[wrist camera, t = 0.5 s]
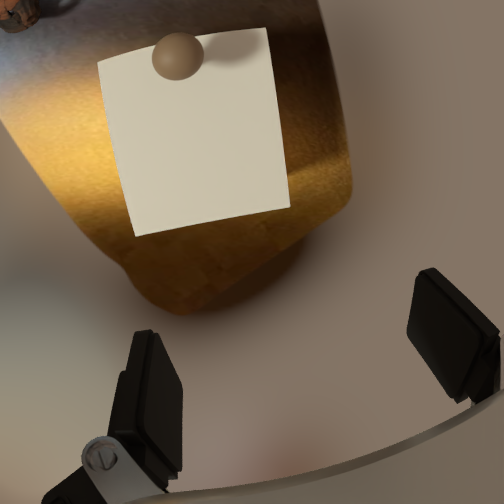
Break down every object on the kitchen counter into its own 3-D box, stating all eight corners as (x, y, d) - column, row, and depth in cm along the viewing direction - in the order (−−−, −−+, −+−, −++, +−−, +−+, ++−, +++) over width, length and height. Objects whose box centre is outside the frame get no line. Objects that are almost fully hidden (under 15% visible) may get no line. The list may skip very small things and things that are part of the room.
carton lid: (100, 63, 21) (68, 52, 15) (264, 29, 22) (281, 6, 16) (137, 233, 28) (119, 268, 22) (288, 204, 29) (310, 232, 23)
